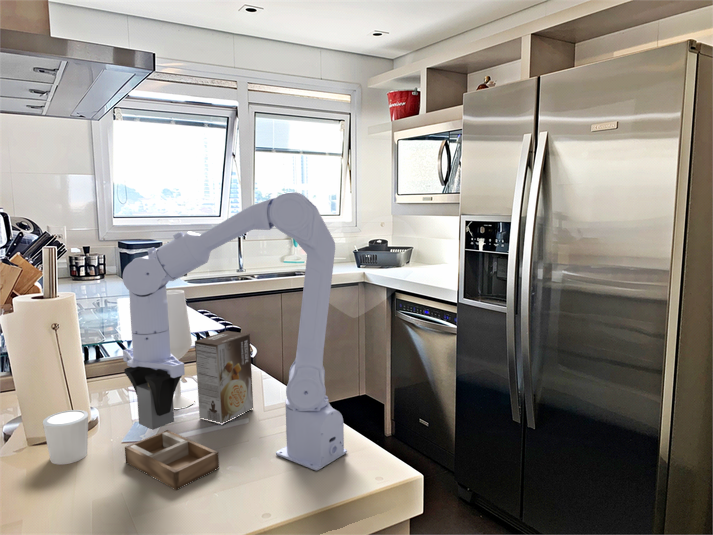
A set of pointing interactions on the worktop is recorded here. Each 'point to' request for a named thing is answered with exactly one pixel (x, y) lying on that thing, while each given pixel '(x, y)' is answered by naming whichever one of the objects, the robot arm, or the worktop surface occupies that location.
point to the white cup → (67, 436)
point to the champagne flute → (178, 336)
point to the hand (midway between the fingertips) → (155, 410)
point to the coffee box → (224, 375)
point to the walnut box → (172, 458)
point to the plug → (150, 409)
